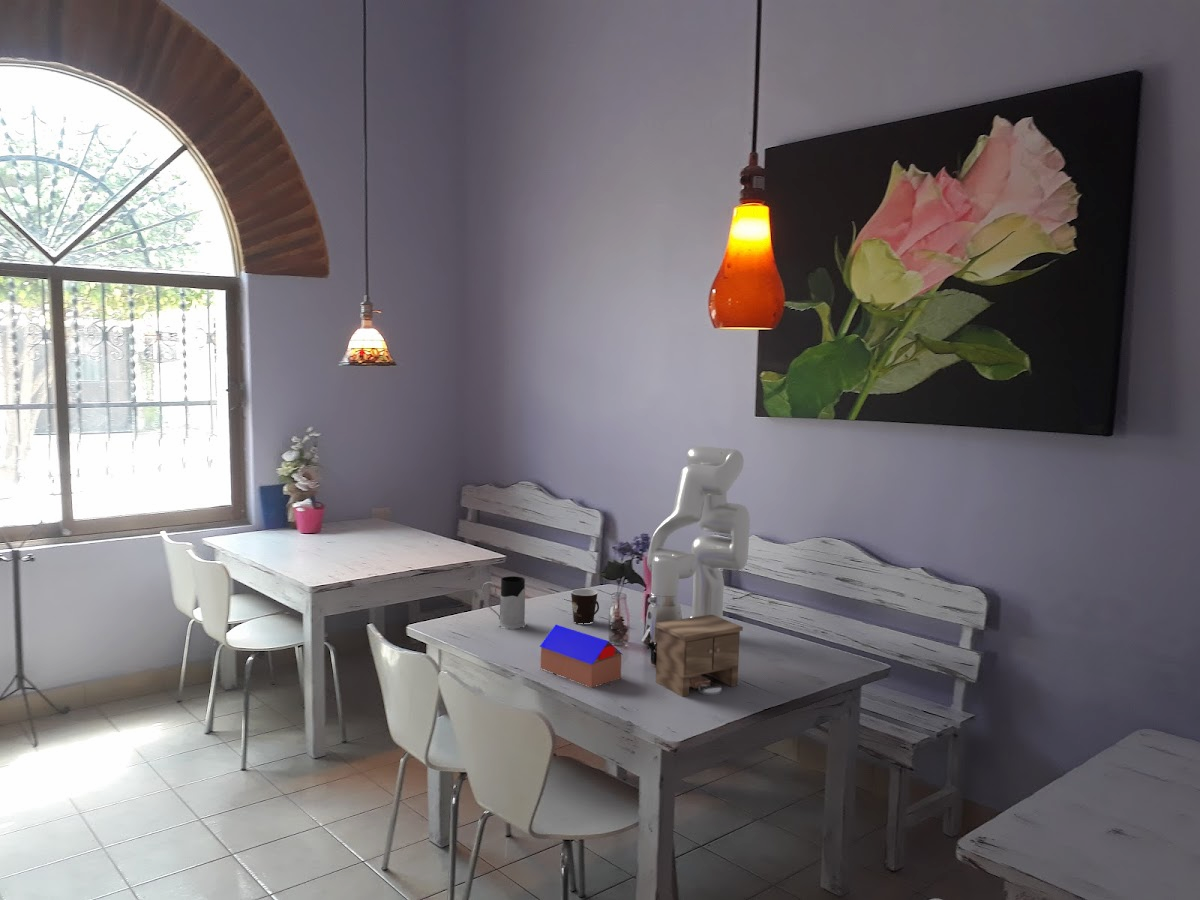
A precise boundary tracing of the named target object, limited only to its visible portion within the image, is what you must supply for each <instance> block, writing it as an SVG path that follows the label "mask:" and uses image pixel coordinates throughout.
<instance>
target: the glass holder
mask: <svg viewBox="0 0 1200 900" xmlns="http://www.w3.org/2000/svg"><path fill="white" fill-rule="evenodd" d="M525 581H526V579H525V578H524V577H523V576H513V575H512V576H505V577H502V578H501V580H500V594H498V593H497V587H496V585H495V584H494V582H491V581H487V582H485V583H483V585H482V588H481V593H482V599H483V601H484V603H485V606H487V607H488V609H490V610H491V611H492V612H493V613H494V614H496V616H498V620H499V622H498V624H499V626H501V627H505V628H520V627H523V626H525V624H526V621H525V613H526V611H525V610H526V604H525V603H526V586H525V585H526V582H525ZM486 584H491V585H492V586H493V588H494V594H495V595H496V596H497V597H499V599H500V600H499V601H500V602H499V613H498V612H497V611H496V610H495V609H494V608H492V607H491V606H490V605H489V604H488V601H487V599H486V597H485V595H484V586H485V585H486ZM499 626H498V627H499ZM501 627H500V628H501ZM525 627H526V626H525ZM523 628H524V627H523ZM520 629H521V628H520Z"/></svg>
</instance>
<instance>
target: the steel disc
mask: <svg viewBox="0 0 1200 900" xmlns="http://www.w3.org/2000/svg"><path fill="white" fill-rule="evenodd" d="M722 690H723V689H722V685H721V684H719V683H717V682H712V681H710V682H703V683H700V684H699V685H698V688H697V691H698V693H700V694H701V695H704V696H718V694H719V695H721V694H720V693H722Z"/></svg>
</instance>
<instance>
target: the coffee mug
mask: <svg viewBox="0 0 1200 900" xmlns="http://www.w3.org/2000/svg"><path fill="white" fill-rule="evenodd" d="M570 594H571V605H572V606H571V607H572V616H573V617H572V619H573V623H574V622H576V623H583V624H584V623H590V622H593V623H594V620H595V615H596V614H597V613H598V612H599V610H600V605H599V604H600V603H599V602H598V599H597V598H598V591H597V590H594V589H591V588H589V589H588V588H578V589H577V588H576V589H573V590H571V591H570Z"/></svg>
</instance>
